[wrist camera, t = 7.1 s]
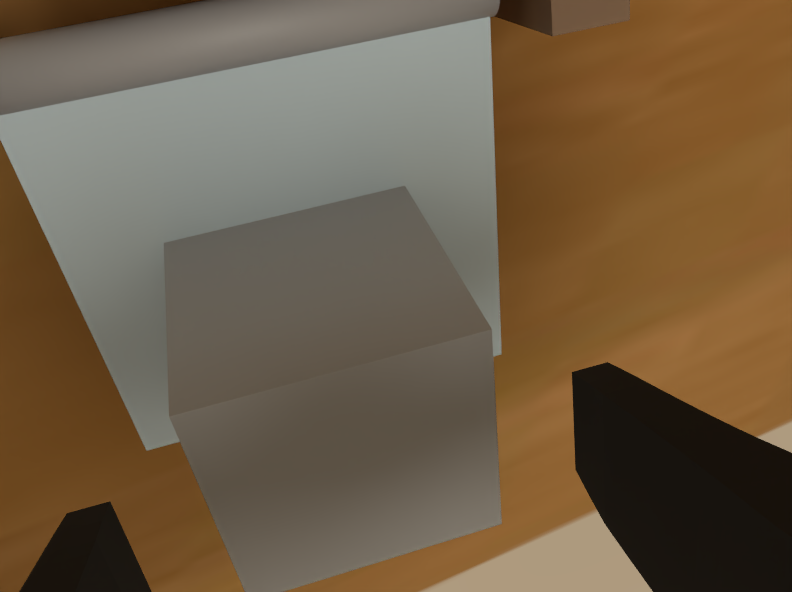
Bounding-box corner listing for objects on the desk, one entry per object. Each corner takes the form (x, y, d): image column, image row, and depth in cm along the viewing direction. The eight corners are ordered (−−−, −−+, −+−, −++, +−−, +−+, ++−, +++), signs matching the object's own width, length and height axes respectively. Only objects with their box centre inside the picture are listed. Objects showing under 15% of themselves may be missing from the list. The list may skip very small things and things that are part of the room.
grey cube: (227, 416, 18) (249, 602, 14) (163, 243, 15) (168, 416, 11) (426, 362, 18) (501, 523, 15) (405, 185, 15) (492, 328, 12)
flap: (-189, -334, 10) (-281, -361, 8) (443, -405, 12) (512, -446, 9) (142, 403, 19) (142, 486, 17) (481, 314, 20) (522, 381, 18)
